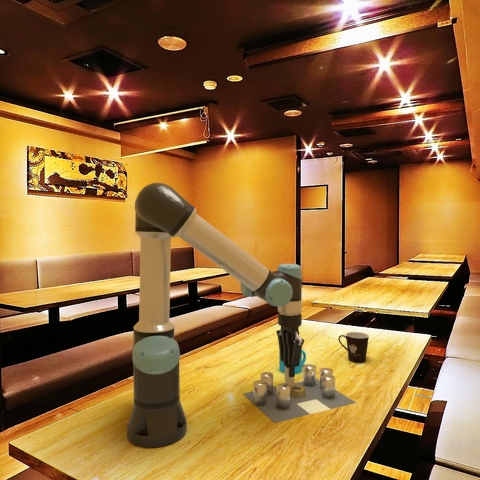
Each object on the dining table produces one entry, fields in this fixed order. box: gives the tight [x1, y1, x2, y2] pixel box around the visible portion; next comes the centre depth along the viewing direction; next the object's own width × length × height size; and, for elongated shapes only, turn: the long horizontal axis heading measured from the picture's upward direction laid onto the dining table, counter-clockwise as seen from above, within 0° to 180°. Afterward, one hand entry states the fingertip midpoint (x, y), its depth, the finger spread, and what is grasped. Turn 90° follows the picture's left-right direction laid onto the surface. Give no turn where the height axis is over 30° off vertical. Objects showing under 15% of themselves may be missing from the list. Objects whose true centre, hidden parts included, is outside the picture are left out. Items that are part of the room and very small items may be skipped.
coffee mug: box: [337, 331, 370, 364], centre depth 155 cm, size 12×9×10 cm
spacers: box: [252, 363, 336, 410], centre depth 121 cm, size 28×14×6 cm, turn 115°
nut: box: [290, 385, 305, 398], centre depth 122 cm, size 5×4×2 cm
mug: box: [278, 349, 307, 375], centre depth 144 cm, size 12×8×8 cm
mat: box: [242, 378, 357, 424], centre depth 120 cm, size 28×20×1 cm
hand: (289, 385), depth 126 cm, fingers closed
